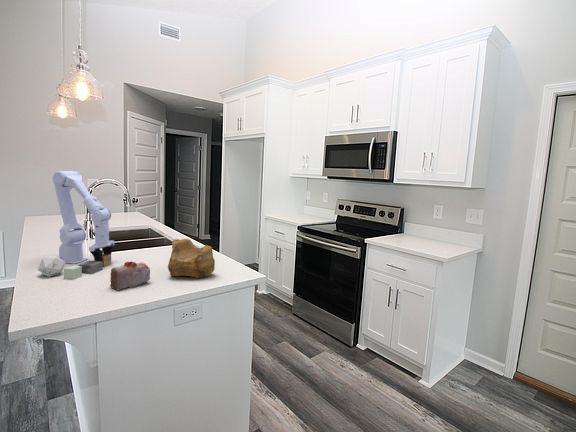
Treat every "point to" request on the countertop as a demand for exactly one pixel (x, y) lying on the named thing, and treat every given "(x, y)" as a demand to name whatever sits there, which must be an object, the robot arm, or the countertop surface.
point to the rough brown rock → (190, 259)
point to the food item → (129, 275)
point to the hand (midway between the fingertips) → (102, 262)
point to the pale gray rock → (51, 265)
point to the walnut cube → (106, 260)
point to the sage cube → (72, 272)
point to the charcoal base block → (91, 267)
